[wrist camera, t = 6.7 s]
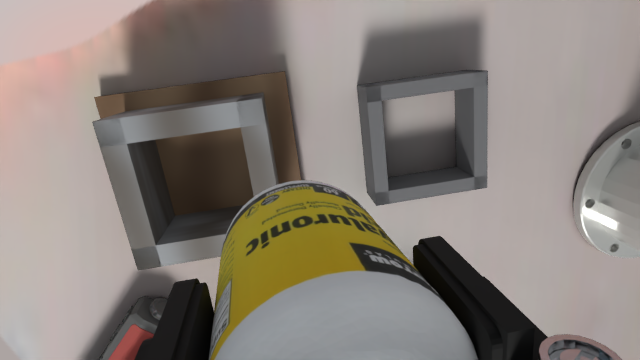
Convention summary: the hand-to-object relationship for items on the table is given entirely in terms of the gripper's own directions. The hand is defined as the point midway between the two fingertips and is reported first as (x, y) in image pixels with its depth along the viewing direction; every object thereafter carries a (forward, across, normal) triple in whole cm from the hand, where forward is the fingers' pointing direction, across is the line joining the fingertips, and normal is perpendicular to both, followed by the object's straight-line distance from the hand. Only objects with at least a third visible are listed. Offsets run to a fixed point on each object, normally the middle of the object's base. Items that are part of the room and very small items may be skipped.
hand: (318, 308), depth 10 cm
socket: (+20, +5, 0) cm, 21 cm away
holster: (+20, -11, 0) cm, 23 cm away
